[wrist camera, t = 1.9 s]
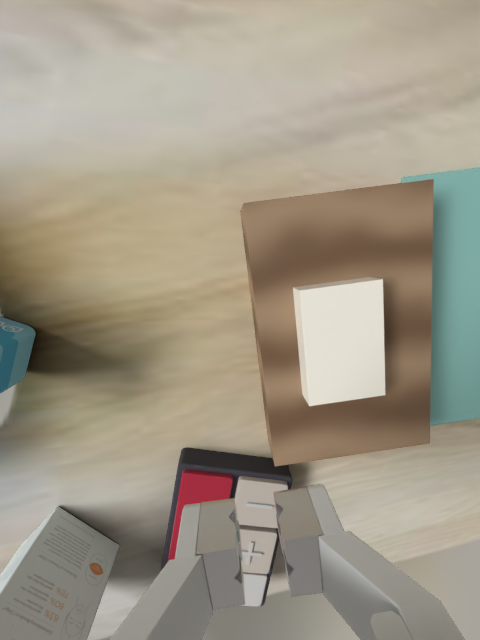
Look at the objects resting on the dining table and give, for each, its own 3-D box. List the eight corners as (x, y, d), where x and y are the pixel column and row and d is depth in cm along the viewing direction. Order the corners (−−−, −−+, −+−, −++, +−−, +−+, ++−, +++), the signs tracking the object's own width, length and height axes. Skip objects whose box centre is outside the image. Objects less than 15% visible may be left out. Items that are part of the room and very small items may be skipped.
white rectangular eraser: (292, 287, 23) (299, 290, 21) (369, 277, 23) (382, 279, 21) (302, 394, 25) (309, 406, 23) (372, 384, 25) (385, 395, 23)
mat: (401, 178, 25) (403, 177, 25) (548, 159, 26) (552, 158, 25) (403, 427, 31) (404, 429, 30) (525, 409, 31) (527, 410, 31)
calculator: (295, 482, 27) (265, 616, 30) (285, 454, 32) (259, 573, 34) (177, 468, 26) (154, 607, 29) (183, 441, 31) (163, 564, 33)
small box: (21, 542, 31) (-118, 741, 18) (58, 503, 30) (-61, 683, 18) (85, 581, 33) (-3, 789, 20) (122, 544, 32) (55, 737, 19)
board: (240, 211, 25) (243, 203, 21) (401, 190, 26) (433, 179, 22) (268, 439, 30) (274, 466, 26) (403, 418, 30) (429, 443, 26)
